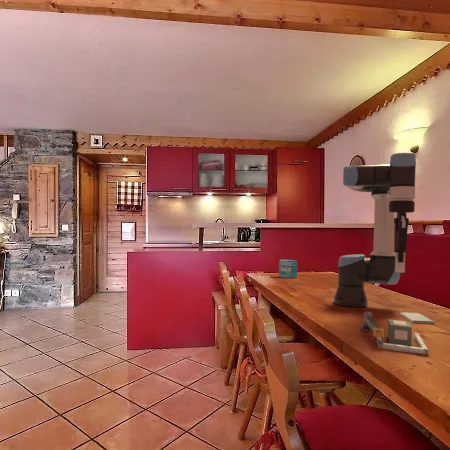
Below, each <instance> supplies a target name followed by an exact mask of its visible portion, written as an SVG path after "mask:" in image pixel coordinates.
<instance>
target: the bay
mask: <svg viewBox="0 0 450 450" xmlns="http://www.w3.org/2000/svg"><path fill="white" fill-rule="evenodd" d="M413 337H414V340H415V341H416V343H417V345H418V347H417V346H412V345H411V346H407V345H400V344H392V343H390V342H389V343H387V342H383V341H382V338H381V337H375V339H376V344H377V348H378V349H380V350H388V351H396V352H403V353H411V354H418V355H424V356H429V349H428V348H427V345H426V344H425V342H424V340H423V338H422V337H421V335H420V333H419V332H414V334H413Z"/></svg>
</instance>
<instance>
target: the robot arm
mask: <svg viewBox="0 0 450 450" xmlns="http://www.w3.org/2000/svg"><path fill="white" fill-rule="evenodd" d="M416 158H417V157H416V154H415V153H414V152H409V151H406V152H403V151H402V152H397V153H392V154H391V155H390V159H389V164H373V165H371V164H370V165H369V164H368V165H367V164H366V165H346V166H343V174H342V175H343V176H342V178H343V179H342V185H343V186H344V187H347V188H348V189H350V190H352V191H355V192H361V193H371V194H370V195H371V198H372V199H374V200H373V201H374V215H373V217H374V218H373V225H374V226H373V228H374V229H373V251H371V253H369V257H366V255H365V254H363V253H360V254H346V255H341V256H340V257H339V259H338V264H337V267H338V273H337V274H338V276H337V277H338V278H337V288H336V291H335V294H334V296H333V303H334V304H336V305H339V306H340V307H341V306H343V307H348V308H349V307H350V308H365V307H368V305H369V300H368V296H367V294H366V290H365V284H380V285H396V284H397V283H398V282H399V280H400V277H401V273H402V274H403V273H405V272H406V253H407V252H408V251H407V249H408V248H407V242H408V230H409V223H410V218H408V217H407V216H408V215H407V213H409V214H410V213H414V212H415V209H416V208H415V207H416V206H415V205H416V204H415V199H416V171H417V170H416V166H417V160H416ZM395 213H396V214H395Z"/></svg>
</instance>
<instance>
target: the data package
mask: <svg viewBox="0 0 450 450" xmlns="http://www.w3.org/2000/svg"><path fill="white" fill-rule="evenodd" d="M278 261H279V262H278V276H279V278H281V279H296V278H298V261H297V260H294V259H280V260H278Z"/></svg>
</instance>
